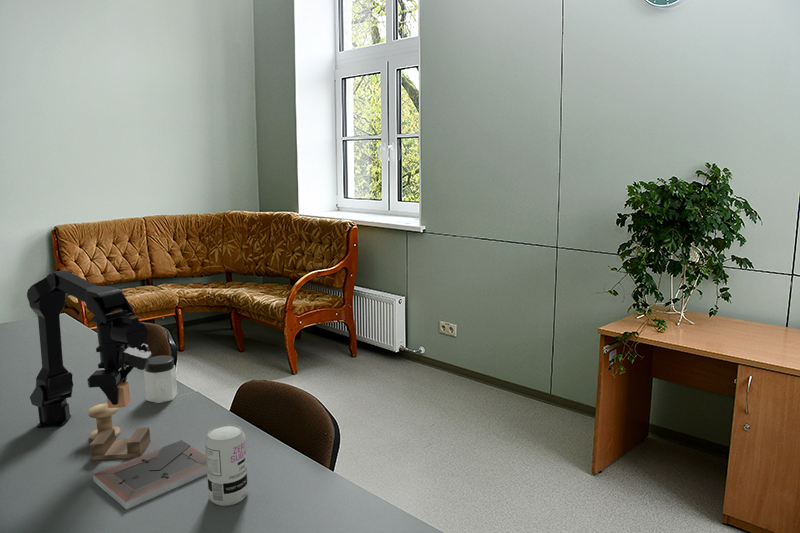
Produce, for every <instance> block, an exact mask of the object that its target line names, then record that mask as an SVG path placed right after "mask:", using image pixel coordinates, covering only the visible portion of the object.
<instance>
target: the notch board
mask: <svg viewBox="0 0 800 533" xmlns="http://www.w3.org/2000/svg"><path fill="white" fill-rule="evenodd" d="M91 441H92V442H91V443H90V444H89V449H90V456H91V457H90V458H91V461H95V460H97V461H98V460H111V459H112V460H113V459H135V458H137V457H140V456H142V455H144V453H145V451H146V449H147V448H148V446H149V445H150V443H151V432H150V427H149V426H146V427H145V426H144V427H136V429H135V430H134V432H133V433H132V434H131V436H130V437H129V438H128V439H125V438H124V439H116V438H115V429H104V430H101V432H100V433H99V434H98V435H97V436H96V438H95V439H94V440H91Z"/></svg>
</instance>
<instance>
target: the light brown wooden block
mask: <svg viewBox="0 0 800 533" xmlns="http://www.w3.org/2000/svg"><path fill="white" fill-rule="evenodd" d="M130 402H131V392H130V385H129V381H126V382H120V384H119V394H118V404H117V405H113V404H112V403H111V402H110V400H109V399H108V398H107V397H106V403H108V408H118V409H119V408H126V407H127V406H128V405H129V403H130Z"/></svg>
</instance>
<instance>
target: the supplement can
mask: <svg viewBox="0 0 800 533" xmlns="http://www.w3.org/2000/svg"><path fill="white" fill-rule="evenodd" d="M204 442H205V443H204V445H205V455H206V462H207V474H206V475H207V476H206V477H207V488H208V499H209V501H210V502H211V503H213V504H215V505H217V506H221V507H227V506H228V507H229V506H233V505H235V504H238V503H241V502H242V501H243V500H245V498H246V497H247V495H248V494H249V481H248V479H249V478H248V466H247V465H248V464H247V461H248V460H247V447H246V434H245V432H244V431H243V429H242V427H241V426H239V425H235V424H224V425H219V426H216V427H214V428H212V429H210V430H209V431H208V432H207V437H205V440H204Z"/></svg>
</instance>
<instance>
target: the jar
mask: <svg viewBox="0 0 800 533" xmlns="http://www.w3.org/2000/svg"><path fill="white" fill-rule="evenodd" d="M176 368H177V367H176V365H175V361H174V357H173V356H171V355H155V356H151V357H150V360H149V364H148V366H147V367H146V368H145V369H144V370H143V376H144V386H145V398H146V401H147V402H152V403H154V404H160V403H161V404H162V403H165V402H169V401H174V399H175V397H176V396H177V395H178V386H177V385H178V383H177V382H178V380H177V371H176Z"/></svg>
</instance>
